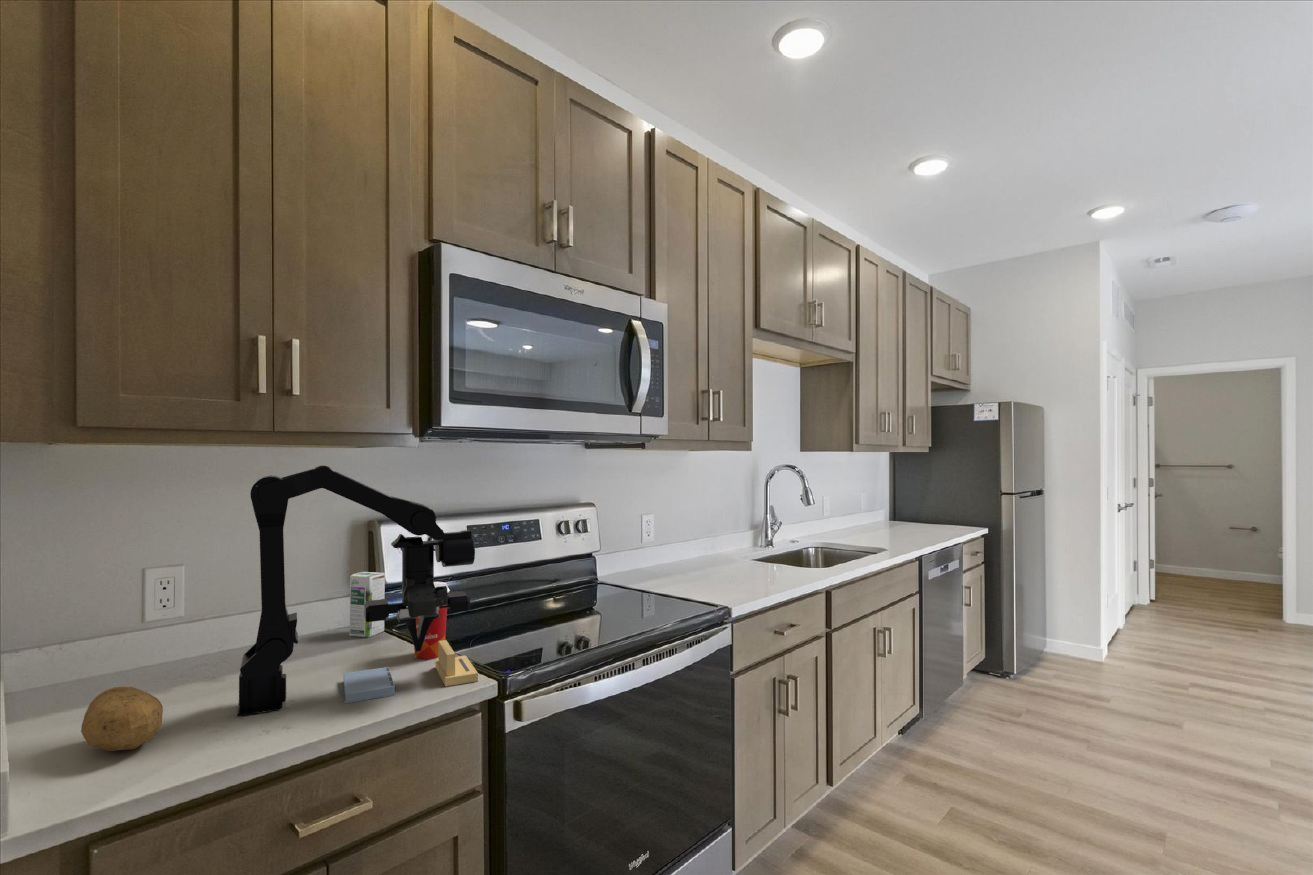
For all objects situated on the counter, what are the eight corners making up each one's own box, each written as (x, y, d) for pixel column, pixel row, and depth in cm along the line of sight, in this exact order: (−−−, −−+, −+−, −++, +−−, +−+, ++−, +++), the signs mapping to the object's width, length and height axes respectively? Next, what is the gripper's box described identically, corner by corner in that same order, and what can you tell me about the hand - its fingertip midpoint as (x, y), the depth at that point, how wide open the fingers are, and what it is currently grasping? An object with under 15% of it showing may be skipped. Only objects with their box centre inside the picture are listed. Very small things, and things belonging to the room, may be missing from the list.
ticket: (345, 703, 114) (345, 693, 114) (343, 681, 124) (343, 672, 124) (394, 695, 117) (394, 685, 117) (388, 674, 128) (388, 666, 128)
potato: (91, 774, 89) (91, 716, 89) (71, 745, 98) (72, 691, 98) (177, 749, 97) (177, 695, 97) (151, 723, 106) (152, 674, 106)
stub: (445, 686, 121) (445, 656, 122) (435, 667, 132) (435, 639, 132) (478, 680, 124) (478, 651, 124) (465, 662, 135) (465, 635, 135)
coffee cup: (400, 657, 139) (400, 586, 139) (430, 647, 146) (430, 579, 146) (429, 663, 135) (429, 590, 135) (458, 652, 142) (458, 583, 142)
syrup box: (348, 636, 154) (348, 575, 155) (365, 629, 160) (365, 570, 160) (368, 638, 153) (368, 576, 153) (385, 631, 159) (385, 571, 159)
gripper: (367, 581, 114) (367, 671, 114) (476, 571, 122) (476, 655, 122) (364, 571, 124) (363, 653, 123) (464, 562, 132) (464, 639, 132)
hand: (417, 650), depth 125 cm, fingers closed
